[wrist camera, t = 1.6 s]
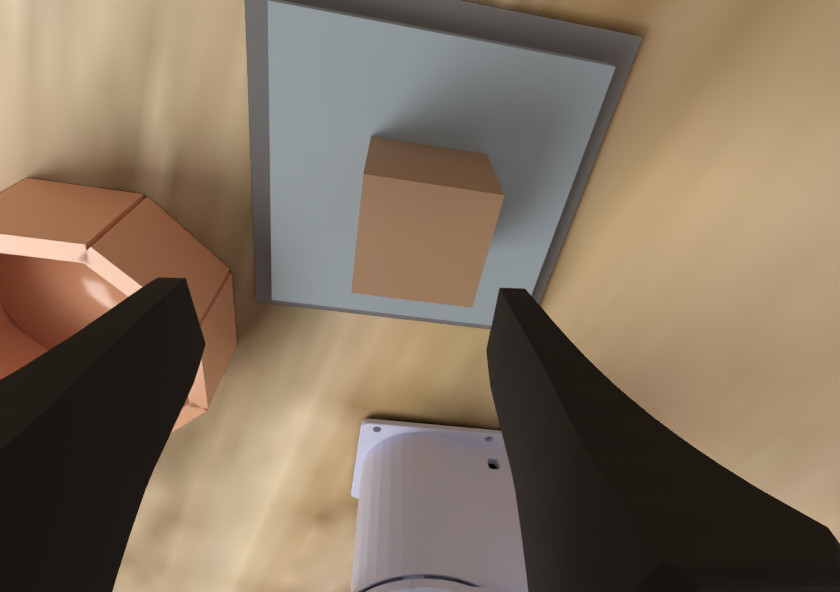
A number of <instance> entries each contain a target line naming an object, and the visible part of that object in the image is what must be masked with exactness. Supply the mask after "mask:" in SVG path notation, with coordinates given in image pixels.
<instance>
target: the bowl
mask: <svg viewBox="0 0 840 592" xmlns="http://www.w3.org/2000/svg"><path fill="white" fill-rule="evenodd" d="M229 270H230V269H229V268H228V267H227V266H226V265H225V264H224V263H222V262H221V261H220V260H219V259H218V258H217V257H216V256H215V255H213V254H212V253H211V252H210V251H209V250H208V249H207V248H206V247H204V246H203V245H202V244H201V243H200V242H199V241H198V240H197V239H195V238H194V237H193V236H192V235H191V234H190V233H189V232H188V231H186V230H185V229H184V228H183V227H182V226H181V225H180V224H178V223H177V222H176V221H175V220H174V219H173V218H172V217H171V216H169V215H168V214H167V213H166V212H165V211H164V210H163V209H162V208H160V207H159V206H158V205H157V204H156V203H155V202H154V201H153V200H151V199H150V198H149V197H148V196H147V197H146V198H145V199H144V196H143V194H139V193H132V192H125V191H118V190H110V189H103V188H96V187H89V186H82V185H75V184H67V183H60V182H53V181H46V180H39V179H32V178H27V179H25V180H24V179H23V180H21V181H19V182H17V183H16V184H14V185H12V186H10V187H8V188H7V189H5V190H3V191H1V192H0V380H1V379H2V378H4V377H6V376H8V375H9V374H11V373H13V372H15V371H16V370H18V369H20V368H21V367H23V366H25V365H26V364H28V363H30V362H31V361H33V360H34V359H36V358H37V357H39V356H41V355H42V354H44V353H45V352H47V351H49V350H50V349H52V348H53V347H55V346H56V345H58V344H60V343H61V342H63V341H64V340H66V339H67V338H69V337H71V336H72V335H74V334H75V333H77V332H78V331H80V330H81V329H83V328H84V327H85V326H87V325H88V324H90V323H91V322H93V321H94V320H96V319H97V318H99V317H100V316H101V315H103V314H104V313H106V312H107V311H109V310H110V309H112V308H113V307H114V306H116V305H117V304H119V303H120V302H122V301H123V300H124V299H126V298H127V297H129V296H130V295H132V294H133V293H135V292H136V291H137V290H139V289H140V288H142V287H143V286H145V285H146V284H148V283H150V282H151V281H153V280H154V279H156V278H158V277H166V278H186V281H187V284H188V287H189V290H190V294H191V297H192V300H193V304H194V307H195V310H196V313H197V317H198V320H199V323H200V327H201V330H202V333H203V336H204V340H205V343H206V345H205V348H204V352H203V355H202V359H201V362H200V366H199V369H198V372H197V375H196V378H195V381H194V384H193V386H192V388H191V391H190V393H189V395H188V397H187V399H186V402H185V404H184V406H183V408H182V410H181V412H180V415H179V417H178V419H177V421H176V423H175V425H174V427H173V429H172V432H173V431H175V430H177V429H178V428H180V427H182V426H183V425H185V424H186V423H188V422H190V421H191V420H193V419H195V418H196V417H198V416H200V415H201V414H203V413H205V412H206V411H207V409H208V408H209V406H210V403H211V401H212V399H213V397H214V394H215V392H216V390H217V388H218V385H219V383H220V381H221V379H222V376H223V374H224V372H225V370H226V367H227V365H228V363H229V361H230V358H231V356H232V354H233V352H234V349H235V347H236V345H237V339H236V325H235V311H234V297H233V283H232V272H229ZM172 432H171V433H172Z"/></svg>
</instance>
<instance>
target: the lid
mask: <svg viewBox="0 0 840 592" xmlns="http://www.w3.org/2000/svg"><path fill="white" fill-rule="evenodd" d="M268 62H269V134H270V207H271V280H272V300H278V301H286V302H295V303H303V304H312V305H320V306H329V307H337V308H346V309H354V310H363V311H371V312H380V313H388V314H397V315H405V316H413V317H422V318H430V319H439V320H447V321H456V322H464V323H473V324H481V325H490V326H492V321H493V317H494V312H495V307H496V302H497V297H498V293H499V288H523V289H526V290H527V291H528V293H529V294H530V295H532V292H533V289H534V287H535V284H536V281H537V279H538V276H539V273H540V271H541V268H542V265H543V262H544V260H545V257H546V254H547V252H548V249H549V246H550V243H551V241H552V238H553V235H554V233H555V230H556V227H557V225H558V222H559V219H560V216H561V214H562V211H563V208H564V206H565V203H566V200H567V198H568V195H569V192H570V189H571V187H572V184H573V181H574V179H575V176H576V173H577V171H578V168H579V165H580V162H581V160H582V157H583V154H584V152H585V149H586V146H587V144H588V141H589V138H590V135H591V133H592V130H593V127H594V125H595V122H596V119H597V117H598V114H599V111H600V108H601V106H602V103H603V100H604V98H605V95H606V92H607V89H608V87H609V84H610V81H611V79H612V76H613V73H614V71H615V68H616V67H615V66H613V65H611V64H609V63H607V62H603V61H597V60H592V59H587V58H582V57H576V56H571V55H566V54H561V53H556V52H550V51H545V50H540V49H535V48H529V47H524V46H519V45H514V44H509V43H503V42H498V41H493V40H488V39H482V38H477V37H472V36H467V35H461V34H456V33H451V32H446V31H441V30H435V29H430V28H425V27H420V26H414V25H409V24H404V23H399V22H394V21H388V20H383V19H378V18H373V17H367V16H362V15H357V14H352V13H347V12H341V11H336V10H331V9H326V8H320V7H315V6H310V5H305V4H300V3H294V2H289V1H284V0H268Z"/></svg>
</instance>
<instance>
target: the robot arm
mask: <svg viewBox="0 0 840 592" xmlns="http://www.w3.org/2000/svg"><path fill="white" fill-rule="evenodd" d="M205 345H206V343H205V340H204V336H203V333H202V330H201V327H200V323H199V320H198V317H197V313H196V310H195V307H194V304H193V300H192V297H191V294H190V290H189V287H188V284H187V281H186V278H166V277H158V278H156V279H154V280H153V281H151V282H150V283H148V284H146V285H145V286H143V287H142V288H140V289H139V290H137V291H136V292H135V293H133V294H132V295H130V296H129V297H127V298H126V299H124V300H123V301H122V302H120V303H119V304H117V305H116V306H114V307H113V308H112V309H110V310H109V311H107V312H106V313H104V314H103V315H101V316H100V317H99V318H97V319H96V320H94V321H93V322H91V323H90V324H88V325H87V326H85V327H84V328H83V329H81V330H80V331H78V332H77V333H75V334H74V335H72V336H71V337H69V338H67V339H66V340H64V341H63V342H61V343H60V344H58V345H56V346H55V347H53V348H52V349H50V350H49V351H47V352H45V353H44V354H42V355H41V356H39V357H37V358H36V359H34V360H33V361H31V362H30V363H28V364H26V365H25V366H23V367H21V368H20V369H18V370H16V371H15V372H13V373H11V374H9V375H8V376H6V377H4V378H2V379H1V380H0V592H112V591H113V587H114V584H115V580H116V577H117V574H118V570H119V567H120V564H121V561H122V558H123V555H124V552H125V548H126V545H127V542H128V539H129V536H130V533H131V530H132V527H133V524H134V521H135V518H136V515H137V512H138V509H139V506H140V504H141V501H142V498H143V495H144V492H145V489H146V487H147V484H148V482H149V479H150V477H151V475H152V472H153V470H154V468H155V466H156V463H157V461H158V459H159V457H160V455H161V453H162V451H163V449H164V446H165V444H166V442H167V440H168V438H169V436H170V434H171V432H172V429H173V427H174V425H175V423H176V421H177V419H178V417H179V415H180V412H181V410H182V408H183V406H184V404H185V402H186V399H187V397H188V395H189V393H190V391H191V388H192V386H193V384H194V381H195V378H196V375H197V372H198V369H199V366H200V362H201V359H202V355H203V352H204V348H205ZM487 359H488V369H489V377H490V385H491V391H492V395H493V399H494V403H495V407H496V412H497V416H498V420H499V424H500V428H501V431H499V430H488V429H477V428H466V427H455V426H444V425H433V424H422V423H411V422H400V421H389V420H378V419H365V420H363V421H362V423H361V429H360V435H359V442H358V449H357V456H356V463H355V470H354V476H353V483H352V490H351V495H352V496H353V497H355V498H359V502H358V513H357V525H356V536H355V548H354V559H353V571H352V582H351V592H840V543H839V542H838V541H837V539H836V538H835V536H834V535H833V534H832V532H831V531H830V530H829V529H828V527H826V526H824V525H822V524H821V523H819V522H817V521H815V520H813V519H812V518H810V517H808V516H806V515H804V514H803V513H801V512H799V511H797V510H796V509H794V508H792V507H790V506H788V505H787V504H785V503H783V502H781V501H779V500H778V499H776V498H774V497H772V496H771V495H769V494H767V493H765V492H763V491H762V490H760V489H758V488H757V487H755V486H753V485H752V484H750V483H748V482H747V481H745V480H744V479H742V478H741V477H739V476H737V475H736V474H734V473H733V472H731V471H729V470H728V469H726V468H725V467H723V466H721V465H720V464H718V463H717V462H715V461H714V460H712V459H711V458H709V457H708V456H706V455H705V454H703V453H702V452H700V451H699V450H697V449H696V448H694V447H693V446H692V445H690V444H689V443H687V442H686V441H685V440H683V439H682V438H681V437H679V436H678V435H676V434H675V433H674V432H672V431H671V430H669V429H668V428H667V427H665V426H664V425H663V424H661V423H660V422H659V421H657V420H656V419H655V418H654V417H652V416H651V415H650V414H648V413H647V412H646V411H645V410H644V409H642V408H641V407H640V406H639V405H638V404H636V403H635V402H634V401H633V400H632V399H630V398H629V397H628V396H627V395H626V394H624V393H623V392H622V391H621V390H620V389H619V388H618V387H617V386H615V385H614V384H613V383H612V382H611V381H610V380H609V379H608V378H607V377H606V376H605V375H604V374H603V373H602V372H601V371H599V370H598V369H597V368H596V367H595V366H594V365H593V364H592V363H591V362H590V361H589V360H588V359H587V358H586V357H585V356H584V355H583V354H582V353H581V352H580V351H579V350H578V348H577V347H576V346H575V345H574V344H573V343H572V342H571V341H570V340H569V339H568V338H567V337H566V336H565V334H564V333H563V332H562V331H561V330H560V329H559V328H558V326H557V325H556V324H555V323H554V322H553V321H552V320H551V318H550V317H549V316H548V315H547V314H546V313H545V311H544V310H543V309H542V308H541V307H540V305H539V304H538V303H537V302H536V301H535V300H534V298H533V297H532V296H531V295H530V294H529V293H528V291H527V290H526V289H523V288H499V293H498V297H497V302H496V307H495V312H494V317H493V321H492V326H491V331H490V336H489V340H488V345H487Z"/></svg>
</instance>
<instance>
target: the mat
mask: <svg viewBox="0 0 840 592" xmlns="http://www.w3.org/2000/svg"><path fill="white" fill-rule="evenodd" d="M284 1H289V2H294V3H300V4H305V5H310V6H315V7H320V8H326V9H331V10H336V11H341V12H347V13H352V14H357V15H362V16H367V17H373V18H378V19H383V20H388V21H394V22H399V23H404V24H409V25H414V26H420V27H425V28H430V29H435V30H441V31H446V32H451V33H456V34H461V35H467V36H472V37H477V38H482V39H488V40H493V41H498V42H503V43H509V44H514V45H519V46H524V47H529V48H535V49H540V50H545V51H550V52H556V53H561V54H566V55H571V56H576V57H582V58H587V59H592V60H597V61H603V62H607V63H609V64H611V65H613V66H615V67H616V68H615V71H614V73H613V76H612V79H611V81H610V84H609V87H608V89H607V92H606V95H605V98H604V100H603V103H602V106H601V108H600V111H599V114H598V117H597V119H596V122H595V125H594V127H593V130H592V133H591V135H590V138H589V141H588V144H587V146H586V149H585V152H584V154H583V157H582V160H581V162H580V165H579V168H578V171H577V173H576V176H575V179H574V181H573V184H572V187H571V189H570V192H569V195H568V198H567V200H566V203H565V206H564V208H563V211H562V214H561V216H560V219H559V222H558V225H557V227H556V230H555V233H554V235H553V238H552V241H551V243H550V246H549V249H548V252H547V254H546V257H545V260H544V262H543V265H542V268H541V271H540V273H539V276H538V279H537V281H536V284H535V287H534V289H533V292H532V295H531V296H532V297H533V298H534V300H535V301H536V302H537V303H538V304H540V301H541V299H542V296H543V293H544V291H545V288H546V286H547V283H548V280H549V278H550V275H551V273H552V270H553V268H554V265H555V262H556V260H557V257H558V255H559V252H560V249H561V247H562V244H563V242H564V239H565V237H566V234H567V231H568V229H569V226H570V224H571V221H572V218H573V216H574V213H575V211H576V208H577V206H578V203H579V200H580V198H581V195H582V193H583V190H584V187H585V185H586V182H587V180H588V177H589V175H590V172H591V169H592V167H593V164H594V162H595V159H596V156H597V154H598V151H599V149H600V146H601V144H602V141H603V138H604V136H605V133H606V131H607V128H608V125H609V123H610V120H611V118H612V115H613V113H614V110H615V107H616V105H617V102H618V100H619V97H620V94H621V92H622V89H623V87H624V84H625V82H626V79H627V76H628V74H629V71H630V69H631V66H632V63H633V61H634V58H635V56H636V53H637V51H638V48H639V45H640V43H641V40H642V38H643V37H641V36H638V35H633V34H628V33H623V32H618V31H613V30H608V29H603V28H598V27H593V26H588V25H583V24H578V23H573V22H568V21H563V20H558V19H553V18H548V17H543V16H538V15H533V14H528V13H523V12H518V11H513V10H508V9H503V8H498V7H493V6H488V5H483V4H478V3H473V2H468V1H463V0H284ZM245 21H246V48H247V75H248V102H249V128H250V155H251V182H252V209H253V235H254V262H255V289H256V302H261V303H270V304H278V305H287V306H295V307H304V308H312V309H321V310H330V311H338V312H347V313H355V314H364V315H372V316H381V317H389V318H398V319H406V320H415V321H424V322H432V323H441V324H449V325H458V326H466V327H475V328H483V329H491V326H490V325H481V324H473V323H464V322H456V321H447V320H439V319H430V318H422V317H413V316H405V315H397V314H388V313H380V312H371V311H363V310H354V309H346V308H337V307H329V306H320V305H312V304H303V303H295V302H286V301H278V300H272V280H271V207H270V134H269V62H268V0H245Z"/></svg>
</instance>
